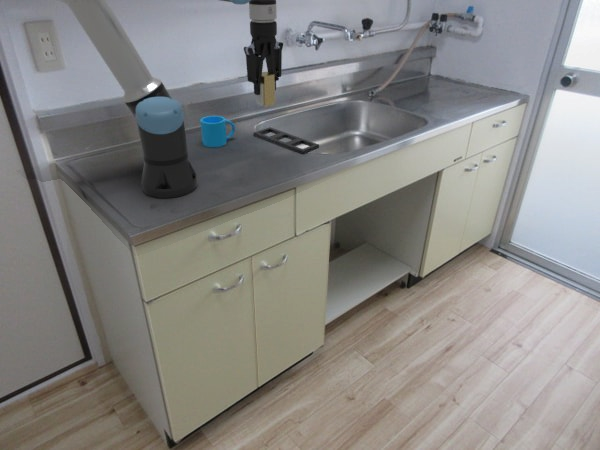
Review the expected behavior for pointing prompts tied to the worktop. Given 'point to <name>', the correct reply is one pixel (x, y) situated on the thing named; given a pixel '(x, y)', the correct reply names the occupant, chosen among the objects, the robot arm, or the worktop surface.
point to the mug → (215, 131)
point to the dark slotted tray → (288, 145)
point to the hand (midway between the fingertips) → (265, 103)
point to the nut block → (268, 89)
